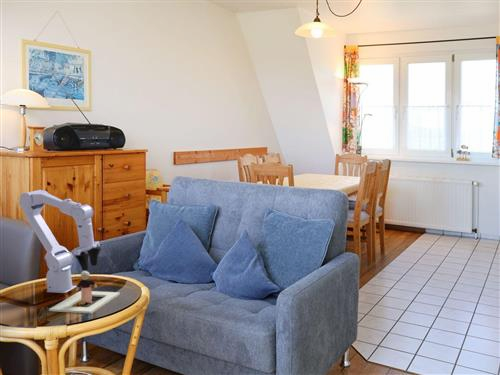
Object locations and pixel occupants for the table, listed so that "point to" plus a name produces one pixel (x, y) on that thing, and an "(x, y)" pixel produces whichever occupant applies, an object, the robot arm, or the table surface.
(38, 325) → the table surface
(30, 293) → the table surface
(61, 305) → the pale rectangular frame
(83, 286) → the grandmother figurine
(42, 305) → the table surface
